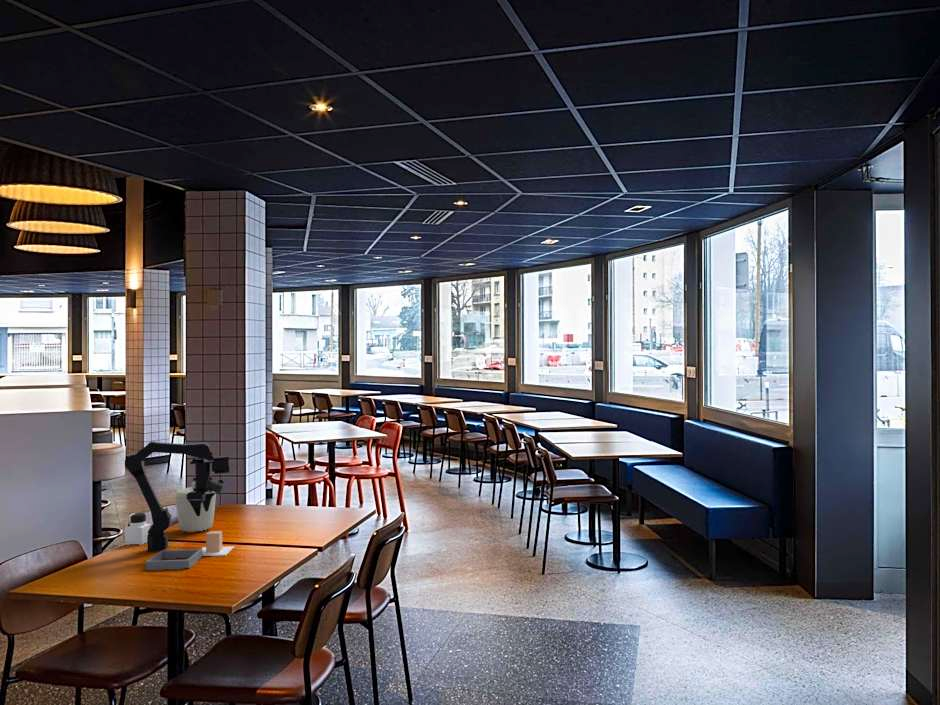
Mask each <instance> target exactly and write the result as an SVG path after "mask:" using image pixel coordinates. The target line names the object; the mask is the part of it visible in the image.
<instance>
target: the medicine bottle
mask: <svg viewBox="0 0 940 705" xmlns="http://www.w3.org/2000/svg"><path fill="white" fill-rule="evenodd" d="M128 518H129V526H125V527H124V545H125V546H130V545H129V544H139V545H138V546H143V545H144V543H145V544H148V543H147V535H148V530H149V528H150V527H151V526H152V525H151V523H147V515H146V513H144V512H135V513H134V512H133V513H131V514H130V515H129V517H128ZM126 544H127V545H126ZM142 544H143V545H142Z"/></svg>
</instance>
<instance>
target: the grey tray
mask: <svg viewBox="0 0 940 705" xmlns="http://www.w3.org/2000/svg"><path fill="white" fill-rule="evenodd" d="M201 557H202V548H197V549H196V548H195V549H168V550H167V549H165V550H163V551H158V552H157V553H156V554H155V555H153V556H151V557H150V558H149V559H148V560H145V571H161V570H162V571H163V569H169V570H183V569H182V568H190V567H191V566H192V565H193V566H194V565H195V564H196V563H198V562H199V561H200V560H201V559H202V558H203V557H202V558H201ZM176 558H185V559H176ZM200 558H201V559H200ZM199 559H200V560H199ZM198 560H199V561H198ZM197 561H198V562H197ZM193 566H192V567H193ZM192 567H191V568H192ZM191 568H190V569H191Z"/></svg>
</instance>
